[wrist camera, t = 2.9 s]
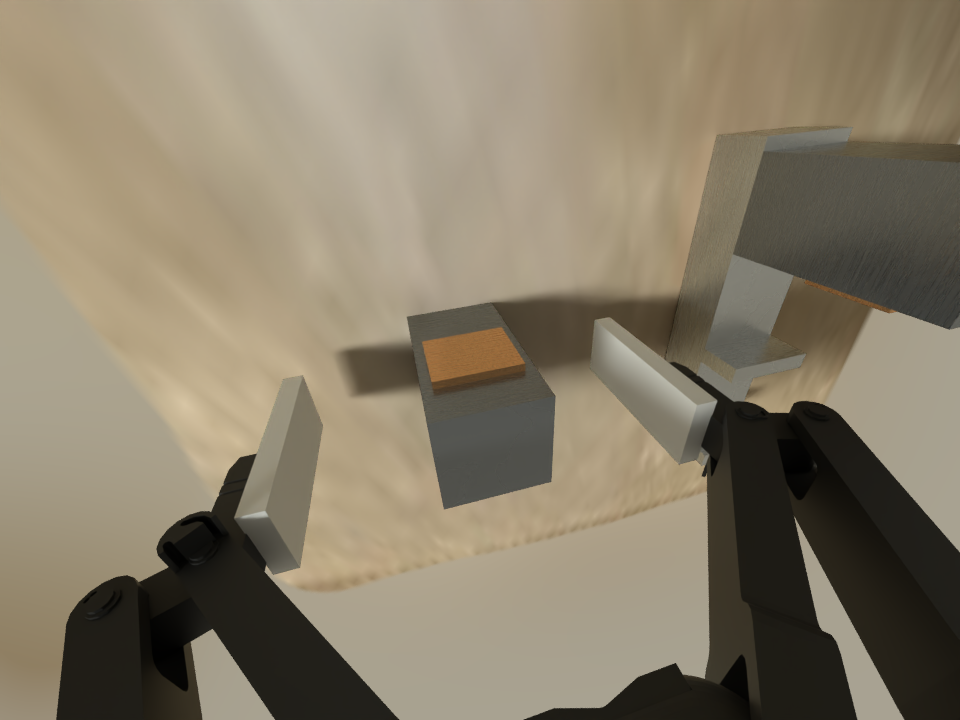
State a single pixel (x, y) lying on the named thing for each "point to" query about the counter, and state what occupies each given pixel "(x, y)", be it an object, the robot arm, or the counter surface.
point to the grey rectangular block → (481, 405)
